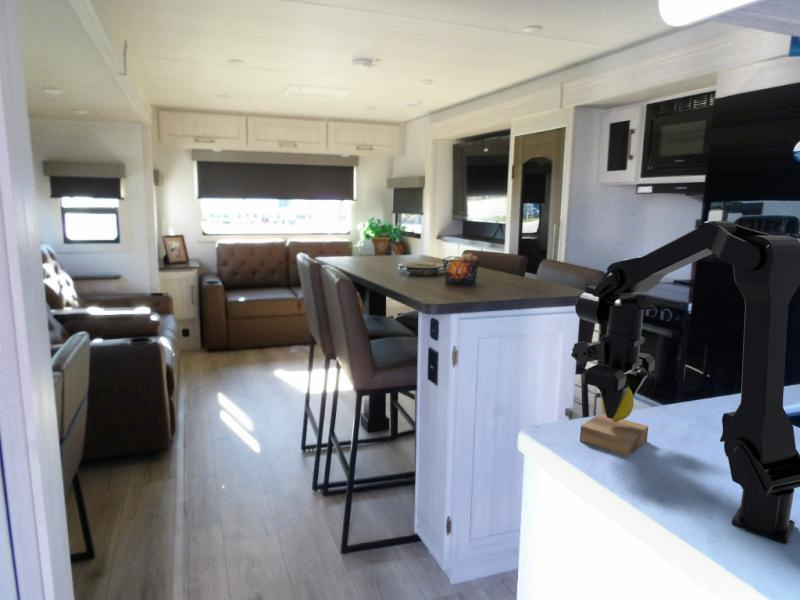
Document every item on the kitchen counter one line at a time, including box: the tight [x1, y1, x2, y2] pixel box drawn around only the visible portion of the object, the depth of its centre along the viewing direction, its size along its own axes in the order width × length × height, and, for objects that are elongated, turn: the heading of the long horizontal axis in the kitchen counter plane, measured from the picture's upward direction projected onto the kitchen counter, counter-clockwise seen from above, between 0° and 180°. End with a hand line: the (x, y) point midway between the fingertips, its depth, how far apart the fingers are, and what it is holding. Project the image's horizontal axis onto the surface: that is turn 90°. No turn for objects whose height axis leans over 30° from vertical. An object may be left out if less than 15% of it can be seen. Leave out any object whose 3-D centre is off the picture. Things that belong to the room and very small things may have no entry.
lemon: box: [600, 384, 634, 422], centre depth 102 cm, size 6×6×8 cm
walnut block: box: [579, 412, 649, 457], centre depth 103 cm, size 9×9×3 cm
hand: (616, 413), depth 102 cm, fingers closed on lemon, 5 cm apart
